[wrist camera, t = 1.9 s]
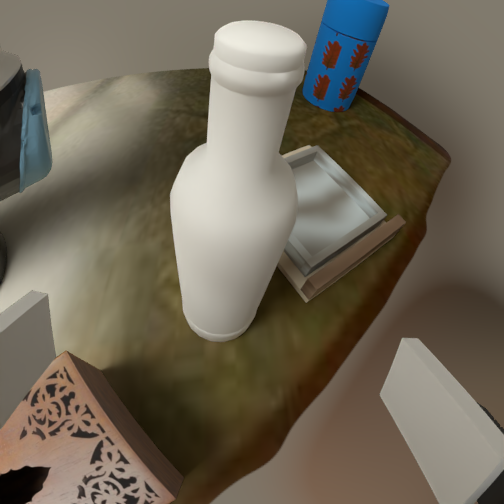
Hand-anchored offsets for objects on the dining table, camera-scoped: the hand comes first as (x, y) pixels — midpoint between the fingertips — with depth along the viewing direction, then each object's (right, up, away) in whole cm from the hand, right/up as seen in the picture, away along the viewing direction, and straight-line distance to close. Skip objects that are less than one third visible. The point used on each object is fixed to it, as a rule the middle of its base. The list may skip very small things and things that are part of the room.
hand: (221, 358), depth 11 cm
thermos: (+17, +36, +51) cm, 65 cm away
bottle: (-3, -3, +26) cm, 26 cm away
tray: (+9, +9, +34) cm, 36 cm away
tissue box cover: (-20, -21, +13) cm, 32 cm away
